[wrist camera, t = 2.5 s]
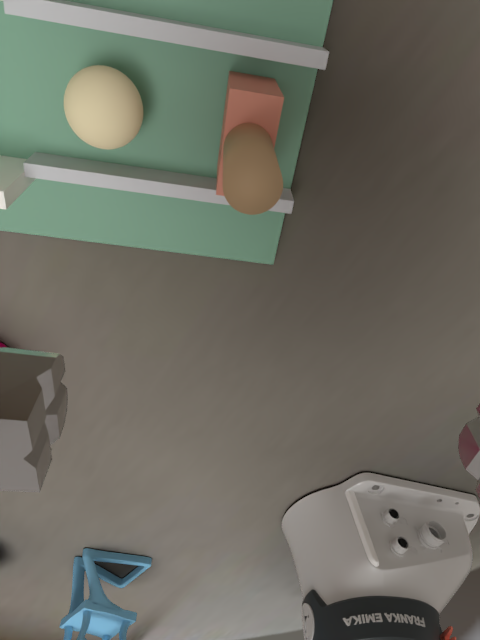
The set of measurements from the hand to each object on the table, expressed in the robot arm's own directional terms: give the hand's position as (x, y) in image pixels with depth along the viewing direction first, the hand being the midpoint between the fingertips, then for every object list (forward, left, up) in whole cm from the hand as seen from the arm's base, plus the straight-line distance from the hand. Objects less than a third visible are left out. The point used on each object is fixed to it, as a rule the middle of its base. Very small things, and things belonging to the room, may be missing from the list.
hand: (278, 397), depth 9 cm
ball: (+7, 0, -20) cm, 21 cm away
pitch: (+7, 0, -23) cm, 24 cm away
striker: (0, 0, -21) cm, 21 cm away
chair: (+8, +55, -23) cm, 60 cm away
